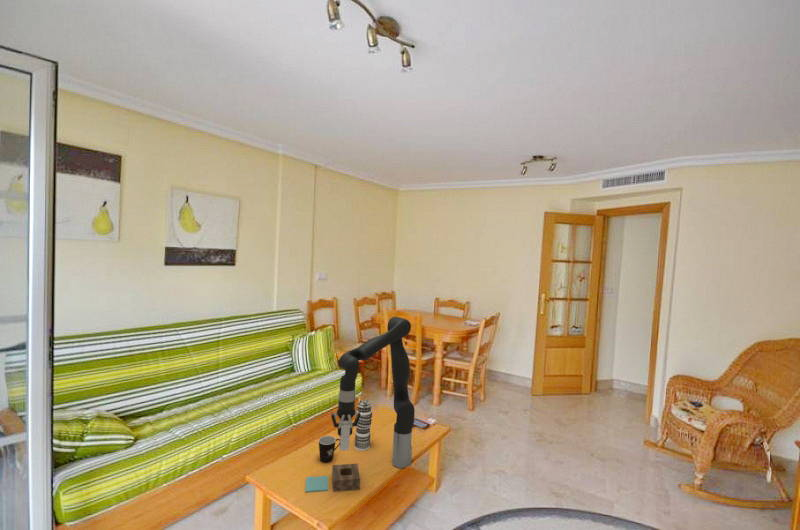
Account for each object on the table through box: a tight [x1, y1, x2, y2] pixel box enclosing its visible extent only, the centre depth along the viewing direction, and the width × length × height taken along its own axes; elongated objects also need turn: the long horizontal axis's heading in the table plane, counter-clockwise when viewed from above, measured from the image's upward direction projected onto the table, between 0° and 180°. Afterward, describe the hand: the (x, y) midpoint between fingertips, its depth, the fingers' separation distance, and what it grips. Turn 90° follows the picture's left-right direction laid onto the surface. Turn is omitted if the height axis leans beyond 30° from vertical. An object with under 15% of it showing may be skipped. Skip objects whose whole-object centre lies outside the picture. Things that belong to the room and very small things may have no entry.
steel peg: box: [339, 421, 350, 452], centre depth 170 cm, size 4×4×12 cm
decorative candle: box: [354, 399, 373, 452], centre depth 202 cm, size 9×9×25 cm
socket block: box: [331, 463, 361, 493], centre depth 171 cm, size 12×12×5 cm
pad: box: [304, 475, 329, 493], centre depth 168 cm, size 10×10×1 cm
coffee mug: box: [318, 435, 340, 464], centre depth 189 cm, size 12×9×10 cm
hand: (344, 434), depth 170 cm, fingers closed on steel peg, 4 cm apart
